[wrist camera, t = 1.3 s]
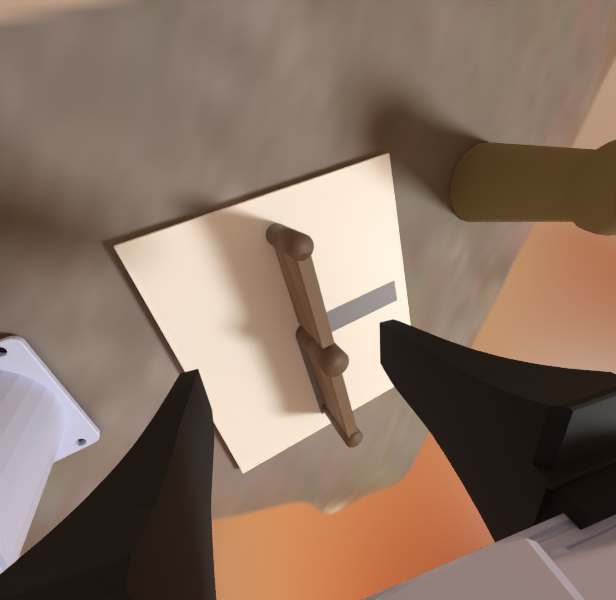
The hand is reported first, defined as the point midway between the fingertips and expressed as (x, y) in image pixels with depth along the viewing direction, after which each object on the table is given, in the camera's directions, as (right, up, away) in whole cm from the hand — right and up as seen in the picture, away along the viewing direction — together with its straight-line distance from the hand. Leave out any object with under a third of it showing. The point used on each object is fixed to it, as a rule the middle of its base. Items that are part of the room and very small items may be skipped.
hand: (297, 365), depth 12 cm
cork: (+14, +12, +13) cm, 23 cm away
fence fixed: (+1, -3, +13) cm, 13 cm away
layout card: (0, +1, +11) cm, 11 cm away
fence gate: (-1, +4, +9) cm, 10 cm away
